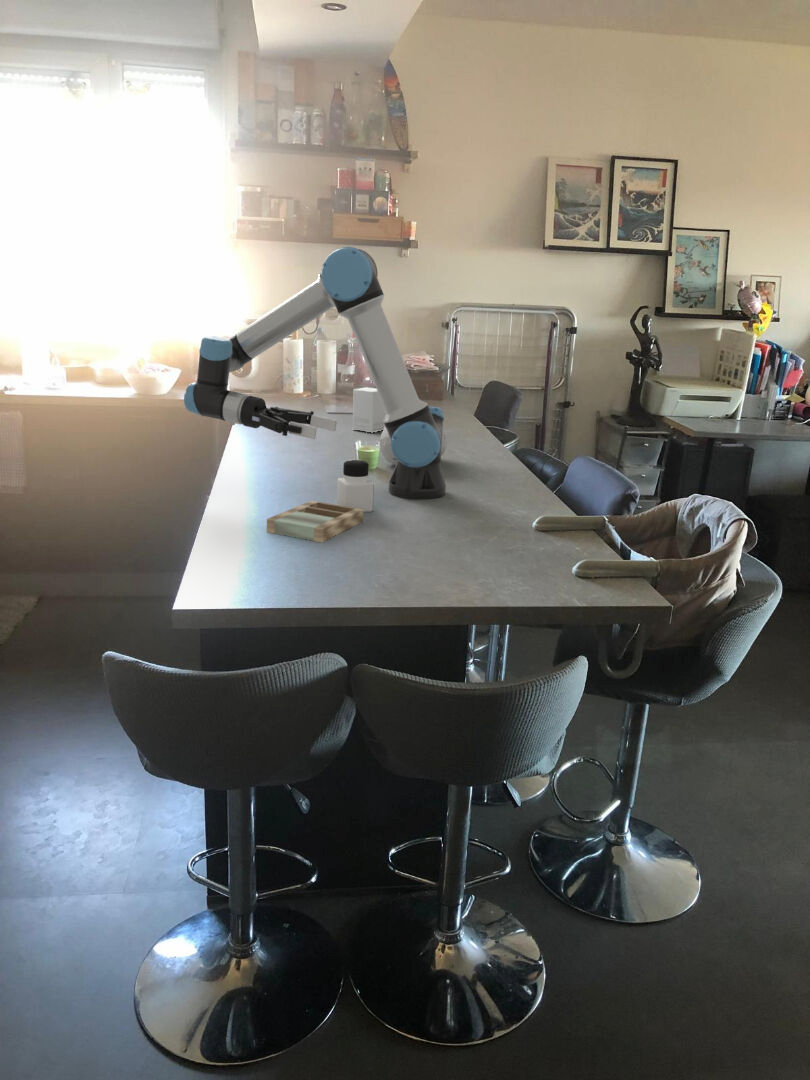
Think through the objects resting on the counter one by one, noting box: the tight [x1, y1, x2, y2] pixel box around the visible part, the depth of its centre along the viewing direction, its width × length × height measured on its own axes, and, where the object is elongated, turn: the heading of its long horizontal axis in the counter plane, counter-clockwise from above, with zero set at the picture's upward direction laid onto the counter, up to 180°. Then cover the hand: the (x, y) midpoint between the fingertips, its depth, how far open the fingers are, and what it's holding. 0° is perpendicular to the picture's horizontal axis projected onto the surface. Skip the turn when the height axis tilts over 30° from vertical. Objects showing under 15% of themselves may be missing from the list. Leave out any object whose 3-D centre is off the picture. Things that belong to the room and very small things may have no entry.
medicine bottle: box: [336, 459, 375, 513], centre depth 211 cm, size 7×7×12 cm
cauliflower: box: [378, 426, 447, 466], centre depth 264 cm, size 20×25×22 cm
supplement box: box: [352, 387, 386, 431], centre depth 313 cm, size 9×9×15 cm
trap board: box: [266, 500, 364, 543], centre depth 196 cm, size 19×14×3 cm
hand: (326, 429), depth 208 cm, fingers open, 13 cm apart
